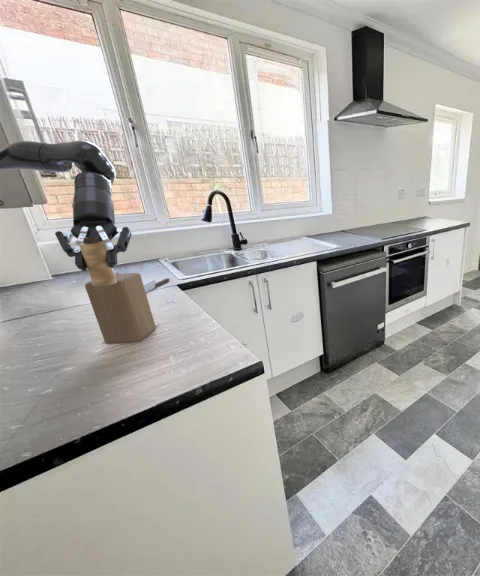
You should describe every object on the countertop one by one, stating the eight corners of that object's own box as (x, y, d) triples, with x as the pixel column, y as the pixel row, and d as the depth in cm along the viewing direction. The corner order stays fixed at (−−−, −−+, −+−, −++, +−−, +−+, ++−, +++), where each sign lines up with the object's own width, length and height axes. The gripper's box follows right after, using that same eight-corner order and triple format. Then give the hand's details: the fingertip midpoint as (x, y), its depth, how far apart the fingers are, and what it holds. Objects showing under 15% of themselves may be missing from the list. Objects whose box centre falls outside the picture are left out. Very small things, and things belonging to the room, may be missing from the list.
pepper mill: (93, 287, 71) (77, 239, 68) (92, 283, 74) (76, 237, 71) (118, 283, 74) (103, 237, 71) (115, 279, 77) (101, 235, 74)
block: (104, 345, 94) (81, 283, 87) (125, 330, 103) (106, 273, 96) (140, 342, 95) (121, 281, 88) (157, 328, 104) (141, 271, 98)
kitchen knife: (165, 274, 153) (118, 294, 125) (167, 274, 153) (121, 294, 125) (167, 282, 155) (121, 303, 126) (169, 282, 155) (124, 303, 126)
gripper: (134, 217, 83) (140, 271, 78) (63, 221, 77) (63, 280, 71) (125, 198, 77) (130, 254, 71) (46, 200, 71) (45, 263, 65)
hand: (96, 267), depth 71 cm, fingers closed on pepper mill, 4 cm apart
